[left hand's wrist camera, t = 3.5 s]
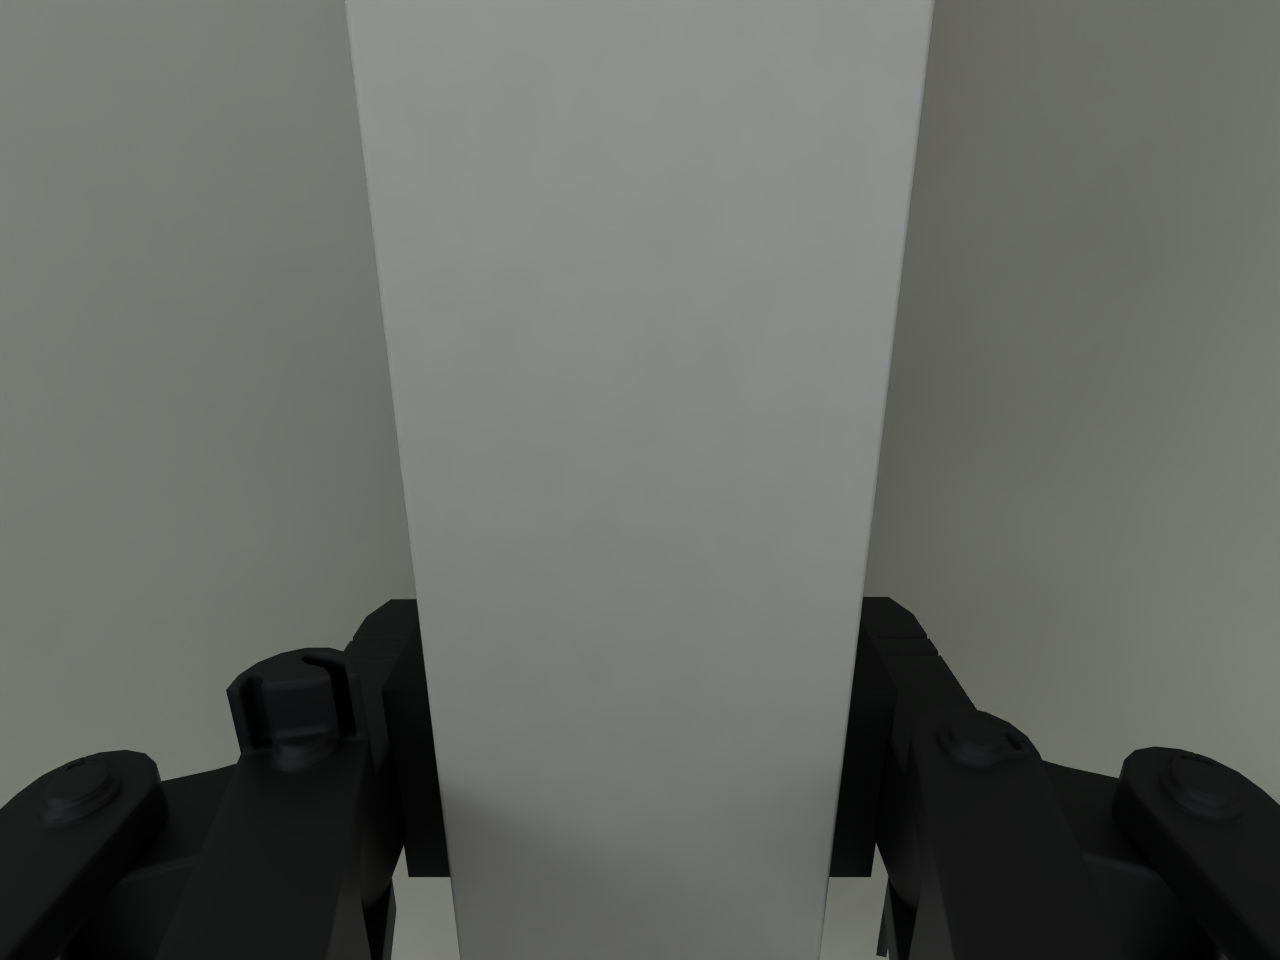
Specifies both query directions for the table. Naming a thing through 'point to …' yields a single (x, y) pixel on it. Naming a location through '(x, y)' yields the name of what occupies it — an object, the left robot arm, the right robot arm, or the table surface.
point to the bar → (639, 440)
